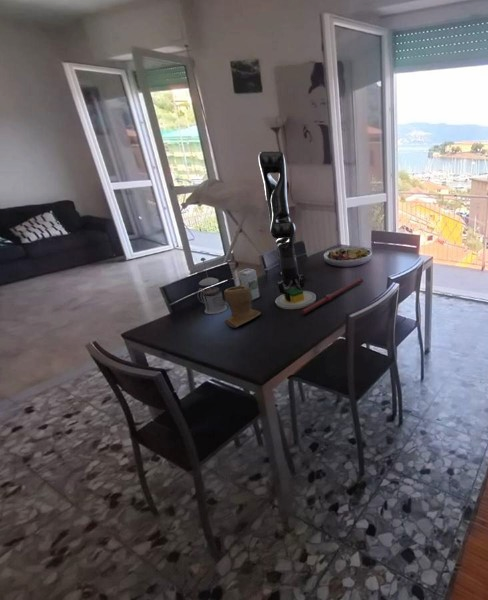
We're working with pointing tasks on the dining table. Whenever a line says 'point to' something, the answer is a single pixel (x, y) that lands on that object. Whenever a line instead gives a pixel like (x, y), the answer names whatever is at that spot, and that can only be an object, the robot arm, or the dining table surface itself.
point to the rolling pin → (330, 296)
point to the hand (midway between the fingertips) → (294, 298)
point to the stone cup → (239, 306)
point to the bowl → (347, 256)
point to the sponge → (295, 295)
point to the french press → (218, 299)
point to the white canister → (250, 282)
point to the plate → (308, 300)
